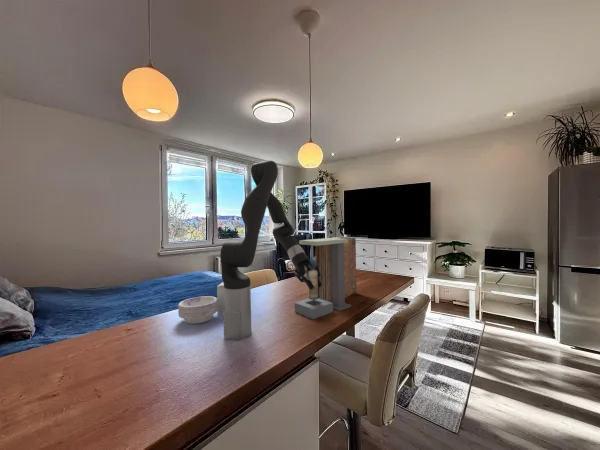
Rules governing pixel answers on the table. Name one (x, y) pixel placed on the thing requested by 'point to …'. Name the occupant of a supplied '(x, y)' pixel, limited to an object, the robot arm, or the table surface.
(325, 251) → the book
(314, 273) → the peg
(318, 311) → the socket
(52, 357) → the table surface
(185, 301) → the paper bowls
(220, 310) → the supplement box
